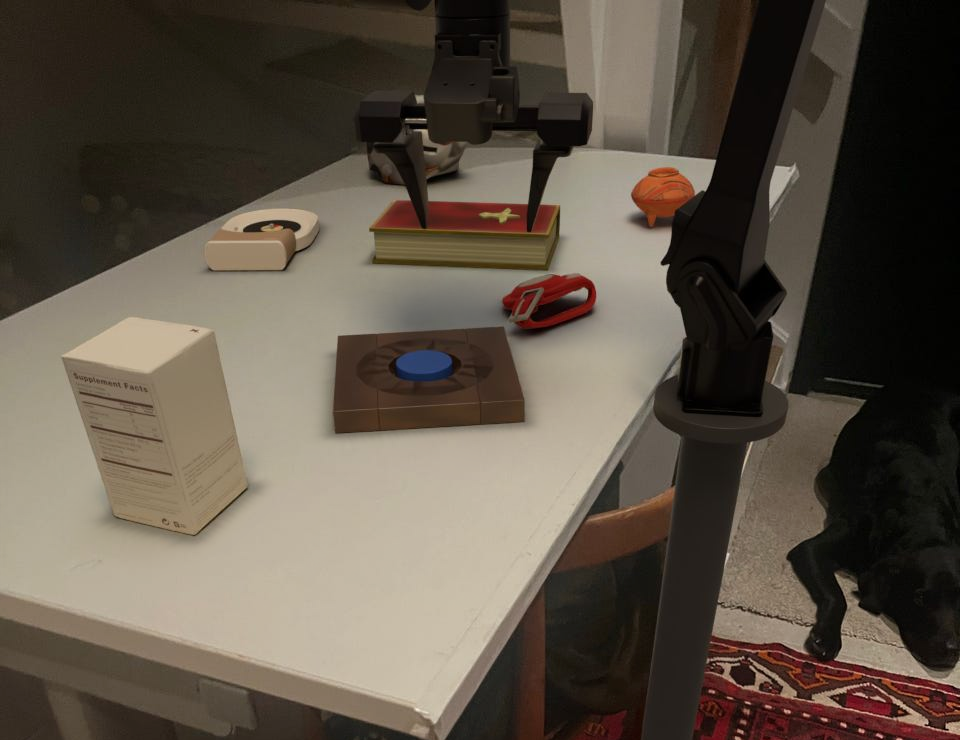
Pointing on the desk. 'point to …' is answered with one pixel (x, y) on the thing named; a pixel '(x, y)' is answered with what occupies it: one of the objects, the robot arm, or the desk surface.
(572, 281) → the red belt with buckle
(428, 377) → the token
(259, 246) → the record player
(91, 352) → the white packaging box
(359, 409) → the token holder
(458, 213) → the hardcover book
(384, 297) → the desk surface
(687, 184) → the orange footed clay pot
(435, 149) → the lucky cat figurine
